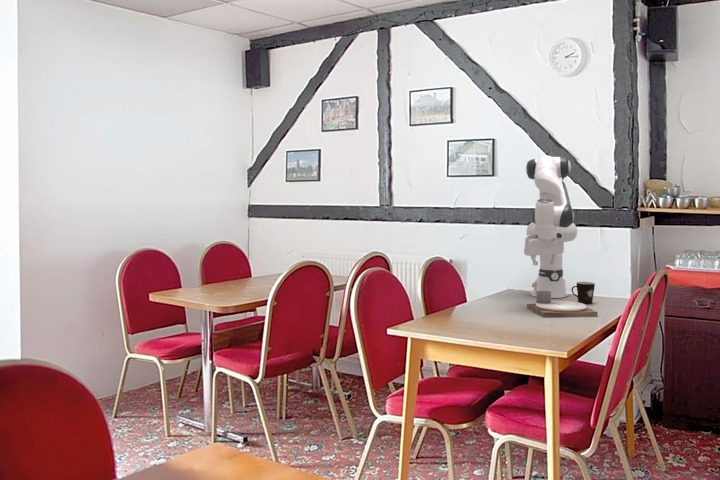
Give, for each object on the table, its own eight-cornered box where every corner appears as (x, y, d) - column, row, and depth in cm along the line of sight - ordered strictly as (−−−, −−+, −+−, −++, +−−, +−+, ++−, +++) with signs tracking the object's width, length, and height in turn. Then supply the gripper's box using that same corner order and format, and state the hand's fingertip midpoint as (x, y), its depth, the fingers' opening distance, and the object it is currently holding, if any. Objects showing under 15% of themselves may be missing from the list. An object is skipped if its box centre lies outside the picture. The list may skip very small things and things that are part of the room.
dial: (594, 306, 322) (594, 293, 321) (574, 313, 305) (575, 298, 304) (547, 301, 336) (547, 288, 336) (526, 307, 319) (526, 293, 319)
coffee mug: (592, 301, 348) (592, 281, 347) (596, 304, 340) (596, 284, 339) (568, 301, 349) (568, 281, 349) (571, 304, 341) (572, 283, 340)
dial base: (526, 307, 331) (526, 303, 331) (576, 307, 333) (576, 302, 333) (543, 317, 307) (544, 312, 307) (597, 316, 309) (597, 311, 309)
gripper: (530, 235, 315) (529, 266, 316) (566, 234, 324) (565, 264, 325) (521, 234, 321) (520, 265, 322) (557, 233, 329) (556, 263, 330)
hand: (543, 264), depth 323 cm, fingers open, 8 cm apart
